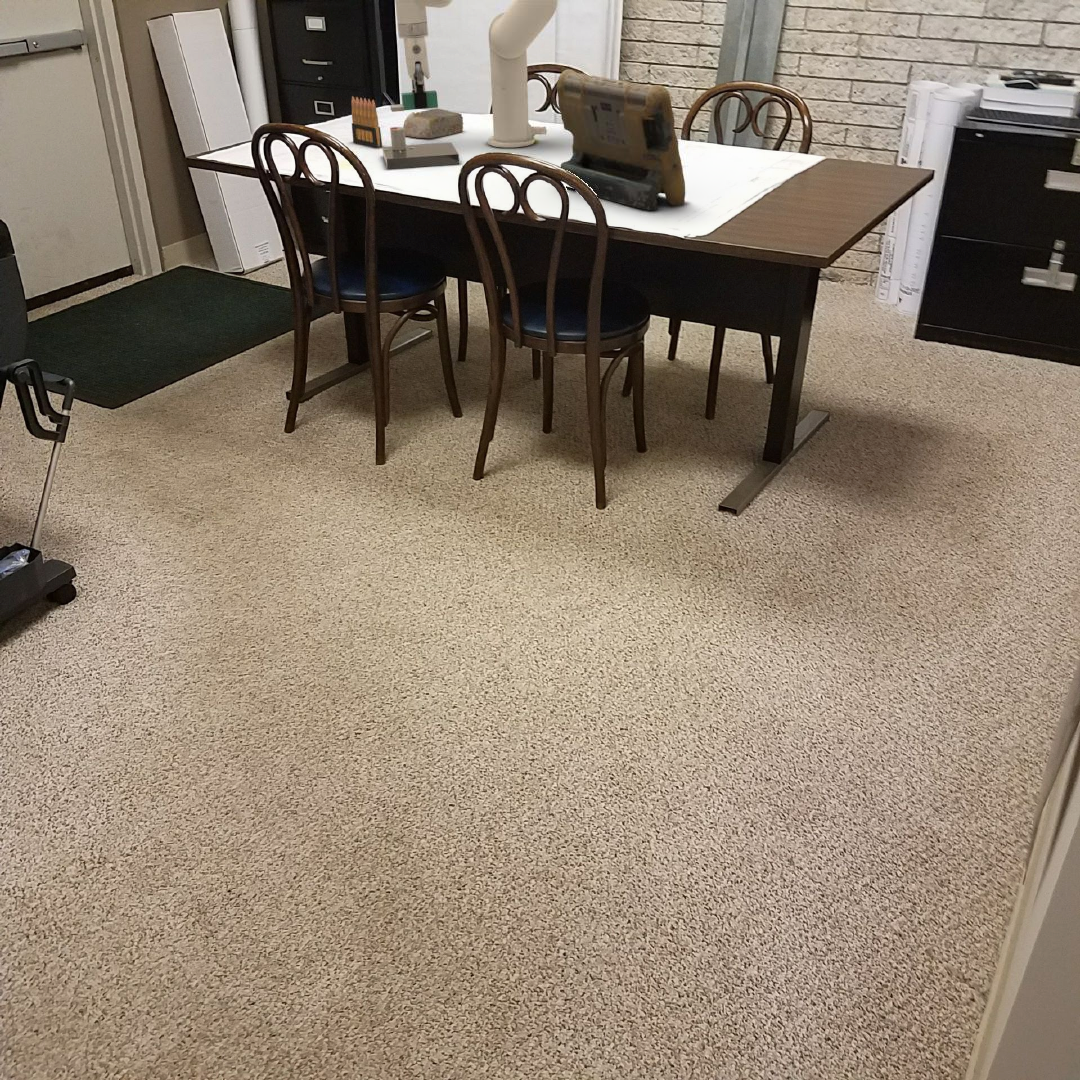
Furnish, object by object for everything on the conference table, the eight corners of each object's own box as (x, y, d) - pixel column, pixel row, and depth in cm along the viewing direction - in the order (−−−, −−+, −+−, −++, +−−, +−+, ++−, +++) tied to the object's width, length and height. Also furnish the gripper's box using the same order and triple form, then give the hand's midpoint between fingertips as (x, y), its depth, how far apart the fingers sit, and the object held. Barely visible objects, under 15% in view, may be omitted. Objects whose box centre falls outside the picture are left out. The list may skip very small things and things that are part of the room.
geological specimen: (465, 112, 298) (426, 118, 288) (465, 135, 301) (426, 141, 291) (438, 107, 304) (399, 112, 294) (438, 129, 307) (400, 135, 297)
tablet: (696, 200, 233) (703, 78, 219) (655, 214, 225) (659, 87, 211) (588, 177, 253) (588, 63, 239) (547, 188, 245) (544, 71, 231)
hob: (451, 152, 279) (451, 141, 277) (459, 164, 267) (458, 153, 266) (383, 157, 276) (382, 146, 274) (387, 169, 264) (386, 158, 263)
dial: (405, 147, 273) (403, 125, 271) (406, 150, 270) (404, 128, 268) (391, 147, 273) (389, 126, 270) (392, 151, 270) (390, 129, 267)
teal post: (438, 108, 279) (436, 92, 277) (392, 111, 277) (390, 96, 275) (436, 105, 282) (435, 90, 280) (390, 109, 280) (389, 93, 278)
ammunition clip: (382, 146, 286) (377, 99, 279) (377, 148, 285) (372, 100, 278) (358, 141, 292) (353, 95, 286) (353, 142, 291) (347, 96, 285)
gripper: (431, 33, 263) (438, 111, 273) (424, 25, 277) (431, 100, 287) (401, 35, 262) (409, 113, 272) (395, 27, 276) (403, 102, 286)
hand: (420, 106), depth 279 cm, fingers closed on teal post, 3 cm apart
